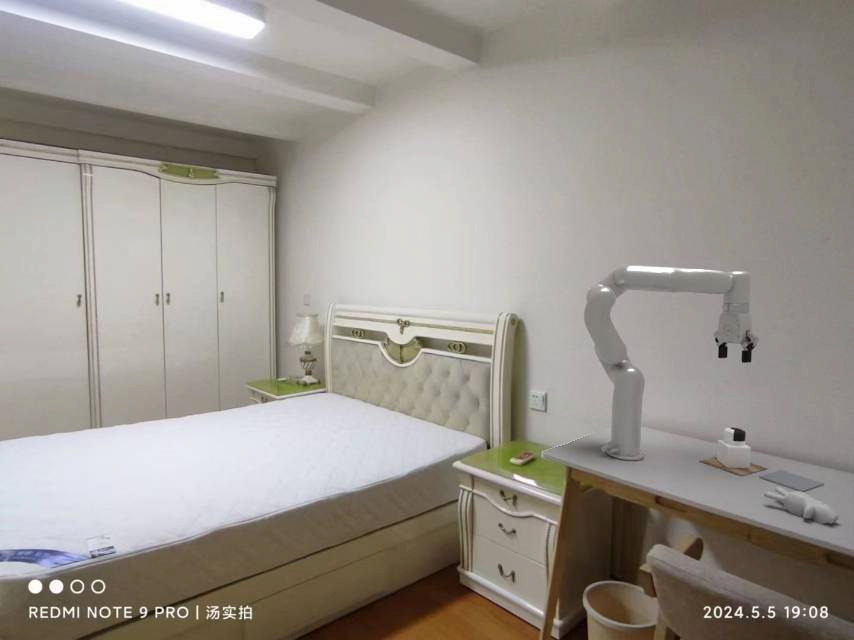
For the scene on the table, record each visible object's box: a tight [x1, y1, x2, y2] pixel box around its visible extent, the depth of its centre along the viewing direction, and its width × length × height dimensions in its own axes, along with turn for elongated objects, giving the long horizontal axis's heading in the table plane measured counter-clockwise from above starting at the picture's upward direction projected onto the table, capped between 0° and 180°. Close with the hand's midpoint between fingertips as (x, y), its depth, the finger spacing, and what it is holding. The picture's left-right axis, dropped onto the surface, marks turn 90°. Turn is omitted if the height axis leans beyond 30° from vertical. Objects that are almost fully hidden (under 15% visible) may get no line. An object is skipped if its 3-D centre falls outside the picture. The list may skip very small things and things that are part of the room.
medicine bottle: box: [716, 427, 752, 469], centre depth 166 cm, size 7×7×12 cm
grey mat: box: [758, 469, 825, 493], centre depth 153 cm, size 12×12×1 cm
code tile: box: [699, 456, 768, 477], centre depth 166 cm, size 14×14×1 cm
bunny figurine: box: [763, 486, 840, 525], centre depth 132 cm, size 10×5×15 cm
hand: (734, 360), depth 168 cm, fingers open, 9 cm apart
